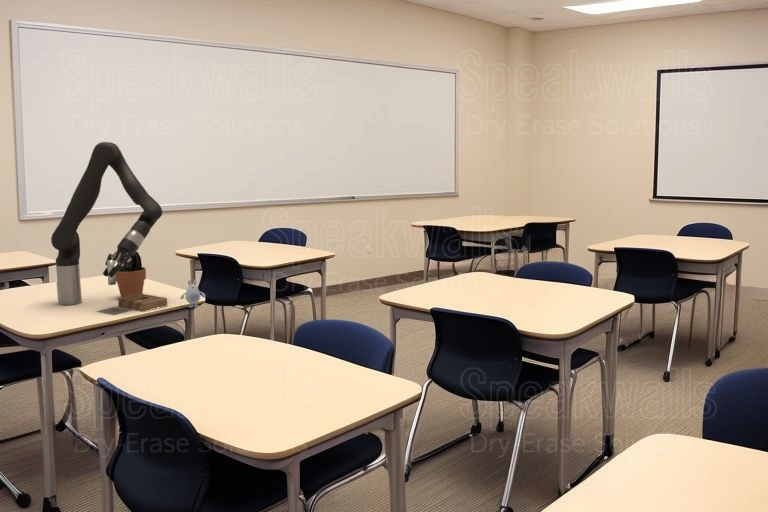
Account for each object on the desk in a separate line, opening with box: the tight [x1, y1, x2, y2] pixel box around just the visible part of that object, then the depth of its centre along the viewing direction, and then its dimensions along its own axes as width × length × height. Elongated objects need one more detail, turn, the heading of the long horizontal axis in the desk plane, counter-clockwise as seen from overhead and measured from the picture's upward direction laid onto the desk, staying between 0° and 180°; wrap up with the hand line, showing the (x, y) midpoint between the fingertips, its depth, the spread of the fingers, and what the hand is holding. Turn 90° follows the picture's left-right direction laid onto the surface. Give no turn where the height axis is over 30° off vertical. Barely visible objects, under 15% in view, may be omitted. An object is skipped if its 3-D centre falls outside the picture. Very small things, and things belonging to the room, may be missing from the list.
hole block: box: [117, 293, 168, 312], centre depth 294 cm, size 17×12×4 cm
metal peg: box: [106, 259, 117, 286], centre depth 284 cm, size 3×3×10 cm
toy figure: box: [179, 279, 207, 309], centre depth 294 cm, size 11×6×12 cm, turn 114°
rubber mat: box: [95, 306, 131, 316], centre depth 286 cm, size 12×9×1 cm
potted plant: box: [116, 248, 147, 298], centre depth 312 cm, size 14×14×25 cm
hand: (107, 275), depth 282 cm, fingers closed on metal peg, 3 cm apart
